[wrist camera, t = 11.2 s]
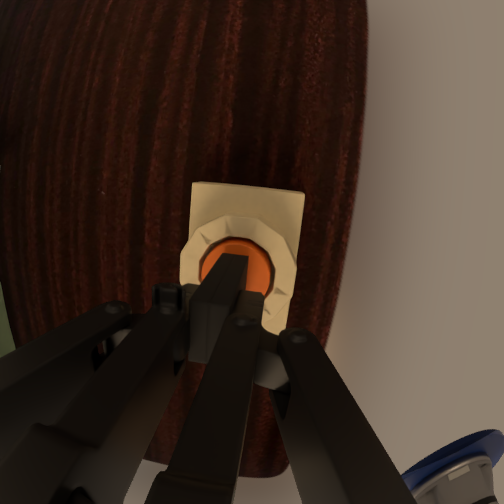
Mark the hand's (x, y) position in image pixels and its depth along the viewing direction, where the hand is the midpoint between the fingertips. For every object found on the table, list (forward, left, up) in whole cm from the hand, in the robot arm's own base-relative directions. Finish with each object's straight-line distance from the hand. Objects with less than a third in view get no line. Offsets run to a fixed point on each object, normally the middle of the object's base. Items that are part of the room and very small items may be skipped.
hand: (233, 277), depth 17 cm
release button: (0, 0, -2) cm, 2 cm away
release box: (0, 0, -5) cm, 5 cm away
